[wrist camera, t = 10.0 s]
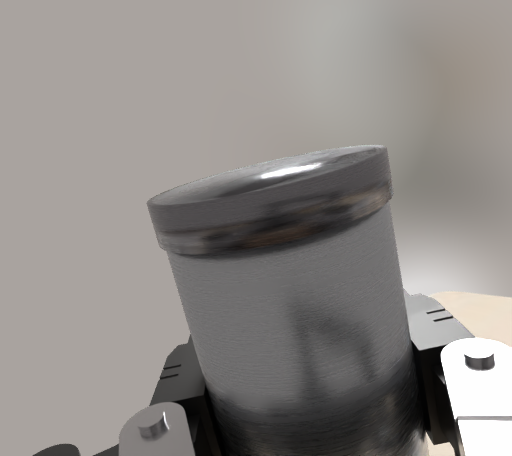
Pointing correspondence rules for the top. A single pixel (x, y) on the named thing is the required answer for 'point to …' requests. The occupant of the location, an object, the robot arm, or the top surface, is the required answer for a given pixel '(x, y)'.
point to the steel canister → (298, 304)
